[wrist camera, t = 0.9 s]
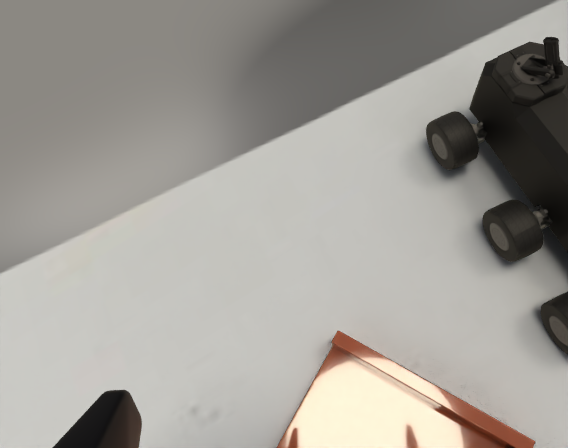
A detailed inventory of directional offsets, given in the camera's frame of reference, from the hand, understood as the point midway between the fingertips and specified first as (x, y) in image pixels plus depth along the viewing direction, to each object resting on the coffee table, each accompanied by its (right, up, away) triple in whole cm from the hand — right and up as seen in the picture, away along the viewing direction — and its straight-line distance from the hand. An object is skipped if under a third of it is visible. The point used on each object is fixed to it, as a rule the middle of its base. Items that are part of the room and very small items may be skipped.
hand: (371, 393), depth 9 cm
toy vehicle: (+13, +4, +20) cm, 25 cm away
